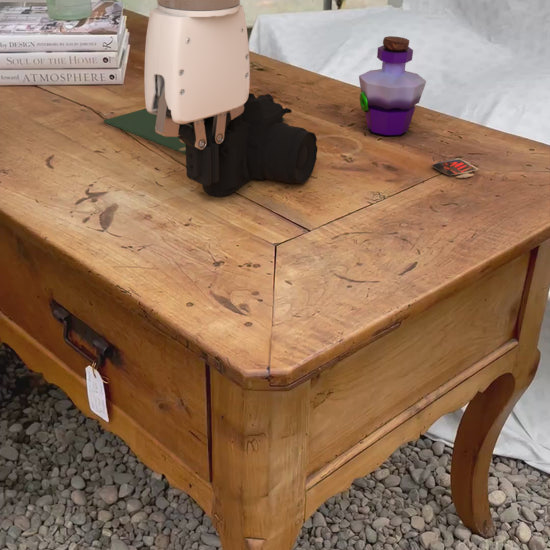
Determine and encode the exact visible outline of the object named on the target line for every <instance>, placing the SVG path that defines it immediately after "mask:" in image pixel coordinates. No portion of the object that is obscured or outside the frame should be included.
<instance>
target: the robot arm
mask: <svg viewBox="0 0 550 550" xmlns="http://www.w3.org/2000/svg"><path fill="white" fill-rule="evenodd" d="M156 2H157V8H153V9H151V10H150V11H149V16H148V20H147V29H146V35H145V46H144V72H143V73H144V74H143V75H144V81H143V83H144V84H143V86H144V102H145V103H144V104H145V109H147V111H148V112H149V113H151V114H155V115H157V118H156V125H155V131H156V133H158V134H161V135H163V136H166V137H178V138H179V139H180V141H181V142H182V143H185V145H186V154H185V169H186V178H188V179H189V180H190V181H193V182H196V183H197V184H200V185H202V186H203V185H205V186H207V185H210V184H211V182H212V183H215V182H218V181H219V145H218V144H220V143H222V142H223V140H224V135H225V129H226V127H227V126H228V124H229V123H230V121H231V120H233V119H234V118H236V117H237V116H239V115H241V114H242V113H243V112H244V103H245V102H246V101H247V99H248V96H249V93H250V88H251V87H250V85H251V61H250V60H251V59H250V46H249V45H250V44H249V35H248V27H247V21H246V15H245V10H244V6H243V4H241V0H156ZM190 125H192V126H191V127H192V128H191V127H190Z"/></svg>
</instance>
